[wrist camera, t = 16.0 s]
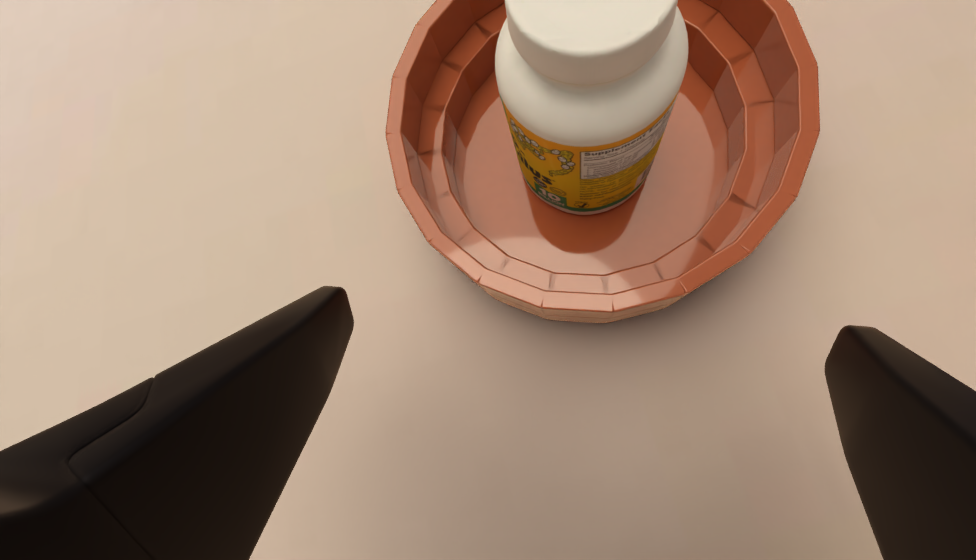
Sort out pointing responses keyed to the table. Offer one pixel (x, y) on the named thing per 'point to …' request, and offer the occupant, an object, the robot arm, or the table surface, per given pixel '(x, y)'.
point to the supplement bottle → (589, 94)
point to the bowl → (647, 213)
